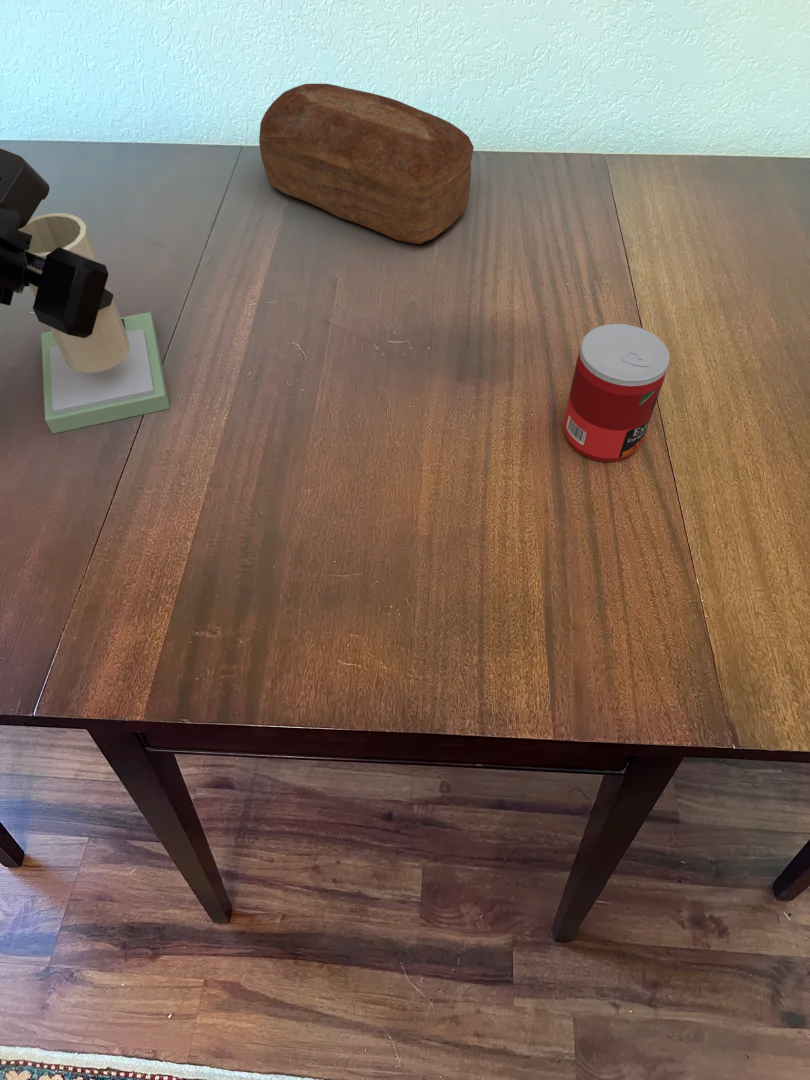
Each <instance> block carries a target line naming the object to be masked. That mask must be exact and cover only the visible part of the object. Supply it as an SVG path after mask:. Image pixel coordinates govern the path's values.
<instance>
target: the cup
mask: <svg viewBox="0 0 810 1080" xmlns="http://www.w3.org/2000/svg"><path fill="white" fill-rule="evenodd" d="M19 230H20V231H23V232H25V233H28V234H30V235H32V240H31V244H30V248H29V250H28V252H31V253H33V254H35V255H38V256H40V257H42V258H45V259H46V255H47V254H49V253H50V252H52V251H53V250H55V249H56V248H58V247H60V248H63V249H66V250H69V251H72V252H74V253H77V254H79V255H82V256H85V257H87V258H89V259H92V260H94V261H97V262H99V263H101V262H100V259H99V257H98V254H97V251H96V248H95V246H94V243H93V240H92V238H91V235H90V232H89V230H88V227H87V225H86V224H85V222H84V221H83V219H82V218H80V217H77V216H76V215H73V214H70V213H63V212H53V213H45V214H40V215H37V216H35V217H31V218H30V220H29V222H28V223H27V224H26V226H24V227H23V228H21V229H19ZM27 267H28V268H30V269H32V270H35V271H37V272H39V273H42V271H41V270H39V269H36V268H34V267H32V266H29V265H27ZM28 284H29V286H28V287H29V288H30V291H31V292H32V294H33V296H34V299H35V298H36V294H37V290H38V287H37V286H34V285H32V284H30V283H28ZM105 289H106V290H108V291H109V292H111V293H112V291H111V289H110V286H109V283H108V281H107V282H106V286H105ZM121 318H122V317H121V315H120V313H119V310H118V308H117V305H116V301H115V299H114V298H113V299H112V303H111V305H110V306H108V307H106V308H103V309H101V310H99V311H98V314H97V318H96V321H95V325H94V329H93V332H92V334H91V335H90V336H88V337H87V338H81V337H76V336H71V335H67V334H65V333H63V332H61V331H59V330H57V329H54V328H52V327H50V326H48V328H49V330H50V331H51V332H52V335H53V337H54V339H55V341H56V343H57V345H58V347H59V349H60V352H61V354H62V355H63V357H64V359H65V361H66V363H67V365H68V366H70V367H71V368H72V369H74V370H76V371H80V372H86V373H93V372H100V371H104V370H107V369H110V368H112V367H114V366H116V365H117V364H119V363H120V362H121V361H122V360H123V359H124V358H125V357H126V356H127V354H128V352H129V348H130V344H129V340H128V336H127V334H126V331H125V328H124V326H123V323H122V320H121Z"/></svg>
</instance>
